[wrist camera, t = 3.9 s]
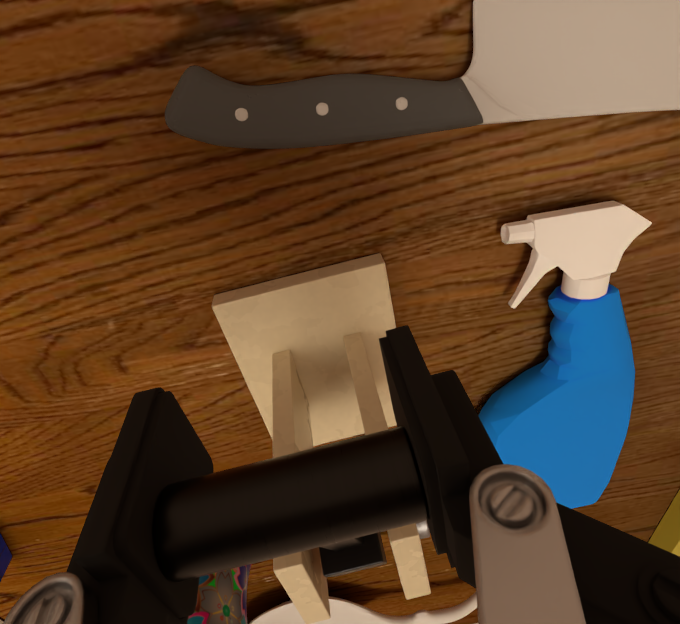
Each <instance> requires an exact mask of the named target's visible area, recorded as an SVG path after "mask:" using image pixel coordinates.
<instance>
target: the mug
mask: <svg viewBox="0 0 680 624" xmlns="http://www.w3.org/2000/svg"><path fill="white" fill-rule="evenodd" d="M250 567H251V564H249V565H245V566H241V567H237V568H233V569H229V570H225V571H221V572H217V573H213V574H209V575H205V576H201V577H200V579H199V587H198V594H197V602H196V608H195V611H194V613H193V614H192V615H190V616H188V621H187V624H248V623H247V611H246V594H247V583H248V576H249V572H250Z"/></svg>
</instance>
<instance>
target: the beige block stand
mask: <svg viewBox="0 0 680 624" xmlns="http://www.w3.org/2000/svg"><path fill="white" fill-rule="evenodd" d="M212 309H213V311H214V313H215V315H216V318H217V320H218V322H219V324H220V326H221V328H222V331H223V333H224V335H225V337H226V339H227V342H228V344H229V346H230V348H231V350H232V353H233V355H234V357H235V359H236V361H237V364H238V366H239V368H240V370H241V372H242V374H243V377H244V379H245V381H246V383H247V385H248V388H249V390H250V392H251V394H252V396H253V399H254V401H255V403H256V405H257V407H258V410H259V412H260V414H261V416H262V418H263V420H264V423H265V425H266V427H267V429H268V431H269V434H270V436H271V438H272V440H273V458H276V457H280V456H284V455H288V454H292V453H296V452H300V451H304V450H308V449H312V448H313V446H316V445H320V444H324V443H328V442H332V441H336V440H340V439H344V438H348V437H352V436H356V435H360V434H364V433H365V435H368V434H372V433H376V432H380V431H384V430H388V427H392V426H396V425H397V424H396V420H395V416H394V412H393V407H392V402H391V397H390V392H389V387H388V382H387V377H386V372H385V368H384V363H383V358H382V353H381V348H380V343H379V338H383V337H386V330H390V329H394V328H396V324H395V318H394V312H393V306H392V301H391V295H390V289H389V283H388V277H387V272H386V266H385V262H384V260H383V258H382V256H381V254H380V253H378V254H374V255H370V256H366V257H362V258H358V259H354V260H350V261H346V262H342V263H338V264H334V265H330V266H326V267H323V268H319V269H315V270H311V271H307V272H303V273H299V274H295V275H291V276H287V277H283V278H279V279H275V280H271V281H267V282H263V283H259V284H255V285H251V286H247V287H243V288H240V289H236V290H232V291H228V292H224V293H220V294H216V295H214V298H213V303H212ZM387 531H388V536H389V540H390V544H391V547H392V551H393V555H394V558H395V562H396V565H397V569H398V572H399V576H400V580H401V583H402V587H403V590H404V594H405V597H406V599H412V598H416V597H420V596H424V595H428V594H431V591H430V586H429V581H428V576H427V571H426V566H425V561H424V556H423V551H422V546H421V542H420V539H423V538H427V537H429V536H430V532H429V527H428V523H427V520H426V521H422V522H418V523H414V524H410V525H406V526H402V527H398V528H394V529H390V530H387ZM273 571H274V573H275V574H276V576H277V578H278V579H279V581H280V582H281V584H282V586H283V587H284V589H285V591H286V592H287V594H288V595H289V597H290V599H291V600H292V602H293V604H294V605H295V607H296V609H297V610H298V612H299V613H300V615H301V617H302V618H303V620H304V622H305V623H306V624H311V623H315V622H319V621H323V620H327V619H330V618H331V615H330V605H329V595H328V586H327V577H324V575H323V570H322V564H321V558H320V551H319V547H318V548H314V549H310V550H305V551H301V552H297V553H293V554H289V555H285V556H281V557H277V558H273Z"/></svg>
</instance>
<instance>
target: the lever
mask: <svg viewBox="0 0 680 624" xmlns="http://www.w3.org/2000/svg"><path fill="white" fill-rule="evenodd" d="M428 519H429V508H428V503H427V499H426V494H425V490H424V486H423V482H422V478H421V475H420V471H419V468H418V464H417V461H416V457H415V454H414V451H413V448H412V444H411V442H410V439H409V436H408V433H407V431H406V429H405V428H404V427H402V426H400V427H396V428H392V429H388V430H384V431H380V432H376V433H372V434H368V435H364V436H360V437H356V438H352V439H348V440H344V441H340V442H336V443H332V444H328V445H324V446H320V447H316V448H312V449H308V450H304V451H300V452H296V453H292V454H288V455H284V456H280V457H276V458H272V459H268V460H264V461H260V462H256V463H252V464H248V465H244V466H240V467H236V468H232V469H228V470H224V471H220V472H216V473H212V474H208V475H204V476H200V477H196V478H192V479H188V480H184V481H180V482H176V483H172V484H169V485H167V486H166V487H165V488H164V489H163V490H162V491H161V492H160V494H159V496H158V498H157V501H156V504H155V508H154V514H153V527H152V529H153V544H154V550H155V555H156V559H157V562H158V564H159V567H160V569H161V571H162V573H163V574H164V576H165V577H166V578H167V579H169V580H170V581H173V582H181V581H185V580H189V579H193V578H197V577H201V576H205V575H209V574H213V573H217V572H221V571H225V570H229V569H233V568H237V567H241V566H245V565H249V564H253V563H257V562H261V561H265V560H269V559H273V558H277V557H281V556H285V555H289V554H293V553H297V552H301V551H305V550H310V549H314V548H318V547H319V551H320V558H321V564H322V570H323V575H324V577H333V576H339V575H343V574H347V573H351V572H355V571H359V570H364V569H368V568H372V567H376V566H380V565H384V564H386V563H387V561H386V556H385V552H384V548H383V543H382V539H381V535H380V532H382V531H386V530H390V529H394V528H398V527H402V526H406V525H410V524H414V523H418V522H422V521H426V520H428Z"/></svg>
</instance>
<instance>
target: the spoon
mask: <svg viewBox="0 0 680 624" xmlns="http://www.w3.org/2000/svg"><path fill="white" fill-rule="evenodd" d="M329 605H330V615H331V618H330V619H327V620H323V621H319V622H315V623H311V624H444V623H449V622H454V621H456V620H459V619H461V618H463V617H465V616H466V615H468V614H469V613H471V612H472V611H473V610H474V609H476V608H477V595H476V592H475V593H474V594H473V595H472V596H471V597H469V598H468V599H467V600H465V601H464V602H462V603H461V604H459V605H456V606H454V607H451V608H446V609H441V610H434V611H426V610H419V611H417V612H415V613H414V614H411V615H406V616H391V615H385V614H381V613H378V612H376V611H373V610H371V609H369V608H366V607H364V606H362V605H359V604H357V603H354V602H351V601H348V600H345V599H341V598H336V597H330V596H329ZM249 624H306V623H305V622H304V620H303V618H302V617H301V615H300V613H299V612H298V610H297V609H296V607H295V605H294V604H293V602H292V600H290V601H287V602H285V603H282V604H280V605H277V606H275V607H273V608H271V609H269V610H267V611H266V612H264V613H262V614H261V615H259V616H257V617H256V618H255V619H253V620H252V621H251V622H250V623H249Z"/></svg>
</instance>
